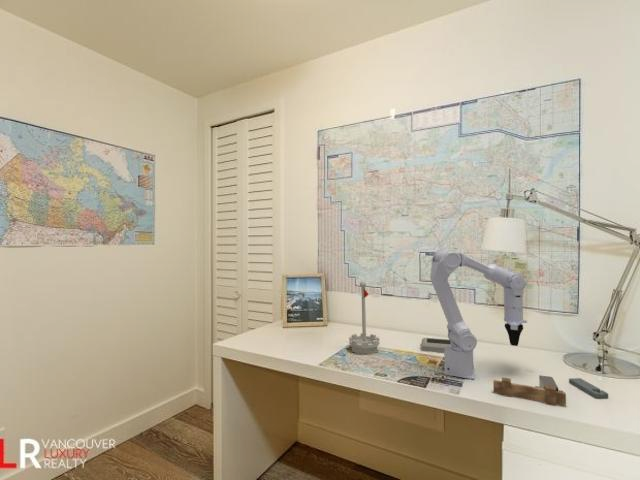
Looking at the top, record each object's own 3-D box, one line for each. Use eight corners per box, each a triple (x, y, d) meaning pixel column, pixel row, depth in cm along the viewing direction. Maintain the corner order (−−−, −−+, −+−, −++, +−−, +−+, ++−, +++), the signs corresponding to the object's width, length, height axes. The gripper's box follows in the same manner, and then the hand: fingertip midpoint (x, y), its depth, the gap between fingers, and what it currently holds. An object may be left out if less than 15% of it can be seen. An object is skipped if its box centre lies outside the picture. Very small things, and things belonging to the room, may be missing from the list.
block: (544, 400, 95) (544, 386, 95) (539, 388, 102) (539, 375, 102) (558, 402, 93) (558, 388, 93) (552, 390, 101) (552, 377, 101)
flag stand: (344, 347, 144) (343, 280, 144) (371, 343, 148) (369, 278, 148) (357, 357, 132) (355, 284, 132) (385, 352, 136) (383, 281, 136)
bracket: (580, 384, 105) (580, 377, 105) (609, 400, 95) (608, 393, 95) (568, 384, 105) (568, 378, 105) (595, 400, 95) (595, 393, 95)
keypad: (459, 346, 132) (420, 343, 137) (459, 355, 132) (421, 351, 137) (457, 339, 141) (421, 336, 146) (457, 347, 141) (421, 344, 146)
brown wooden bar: (493, 393, 99) (493, 378, 99) (494, 386, 104) (493, 372, 104) (566, 407, 90) (566, 391, 90) (563, 399, 95) (563, 384, 95)
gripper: (528, 312, 106) (528, 353, 106) (525, 303, 119) (526, 340, 119) (503, 310, 110) (504, 350, 110) (503, 302, 122) (504, 338, 122)
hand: (514, 345), depth 115 cm, fingers closed
